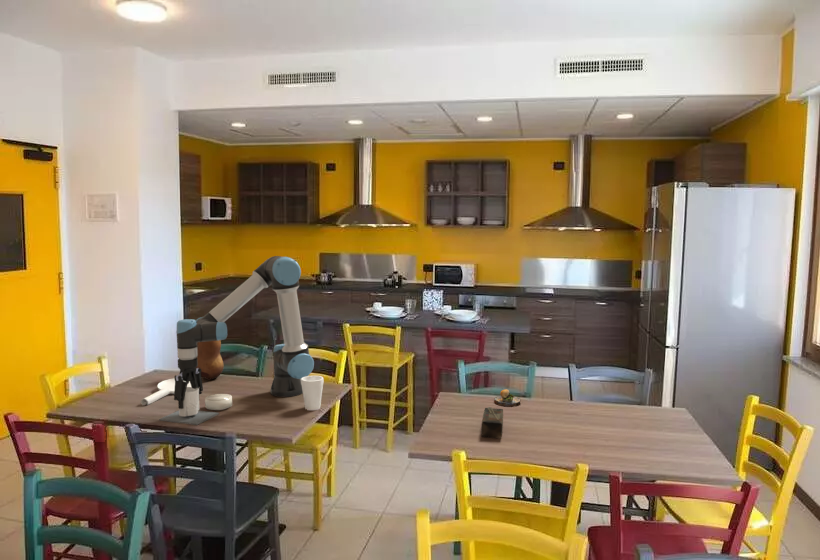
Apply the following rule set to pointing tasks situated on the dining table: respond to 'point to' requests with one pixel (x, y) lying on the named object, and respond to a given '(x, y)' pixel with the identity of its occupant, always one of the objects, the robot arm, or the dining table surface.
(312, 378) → the foam cup
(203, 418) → the mat
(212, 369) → the butternut squash
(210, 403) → the bowl
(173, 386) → the frying pan
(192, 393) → the white cup
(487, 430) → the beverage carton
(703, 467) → the dining table surface
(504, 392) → the plate of food
